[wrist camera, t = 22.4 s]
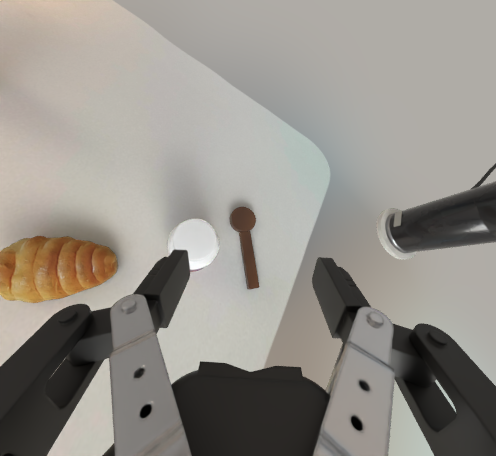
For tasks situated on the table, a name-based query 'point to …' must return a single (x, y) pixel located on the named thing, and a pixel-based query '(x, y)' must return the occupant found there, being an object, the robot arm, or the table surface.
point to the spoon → (246, 242)
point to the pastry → (53, 268)
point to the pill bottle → (195, 242)
